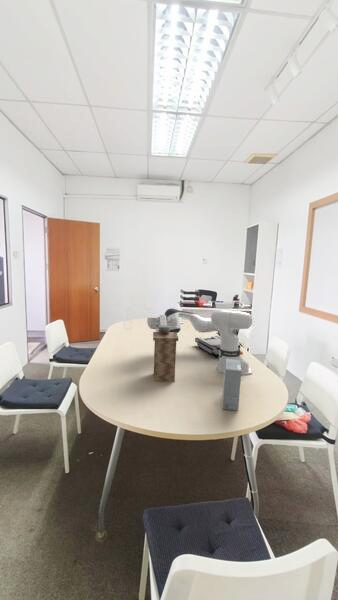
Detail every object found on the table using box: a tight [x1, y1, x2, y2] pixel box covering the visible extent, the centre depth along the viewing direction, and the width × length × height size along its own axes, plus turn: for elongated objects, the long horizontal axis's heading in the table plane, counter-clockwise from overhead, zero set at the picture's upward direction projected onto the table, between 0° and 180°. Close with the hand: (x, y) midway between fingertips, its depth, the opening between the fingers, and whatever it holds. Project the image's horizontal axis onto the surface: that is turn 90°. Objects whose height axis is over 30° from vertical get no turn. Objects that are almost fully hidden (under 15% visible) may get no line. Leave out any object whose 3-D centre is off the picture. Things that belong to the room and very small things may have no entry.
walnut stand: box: [152, 331, 179, 383], centre depth 164 cm, size 14×13×26 cm
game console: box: [194, 335, 241, 359], centre depth 220 cm, size 21×32×8 cm, turn 24°
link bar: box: [159, 314, 169, 334], centre depth 174 cm, size 6×22×4 cm, turn 4°
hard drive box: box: [221, 359, 242, 412], centre depth 139 cm, size 16×8×20 cm, turn 168°
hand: (163, 318), depth 181 cm, fingers closed on link bar, 4 cm apart
